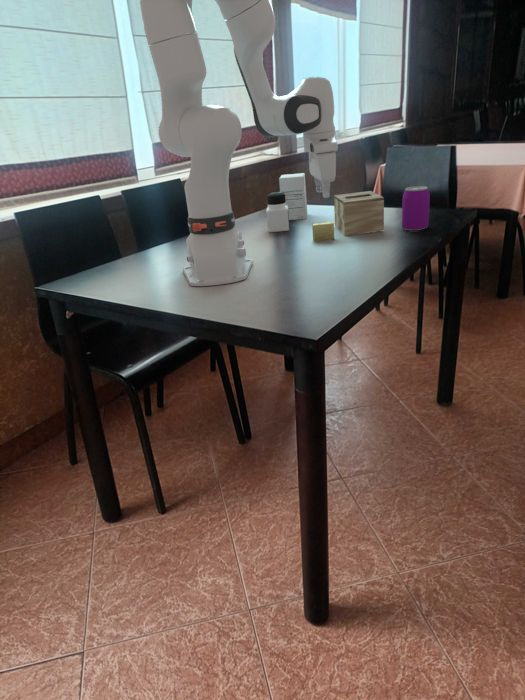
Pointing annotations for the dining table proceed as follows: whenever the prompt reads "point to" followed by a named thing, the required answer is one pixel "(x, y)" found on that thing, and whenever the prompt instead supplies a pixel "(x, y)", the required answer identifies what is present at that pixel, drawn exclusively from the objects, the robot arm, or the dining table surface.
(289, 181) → the supplement box
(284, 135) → the robot arm
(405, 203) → the beverage can
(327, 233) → the yellow block
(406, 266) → the dining table surface
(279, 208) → the medicine bottle
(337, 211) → the coin box
